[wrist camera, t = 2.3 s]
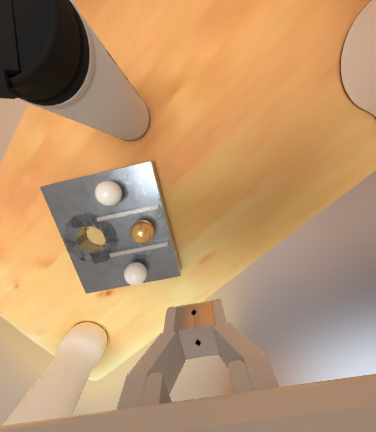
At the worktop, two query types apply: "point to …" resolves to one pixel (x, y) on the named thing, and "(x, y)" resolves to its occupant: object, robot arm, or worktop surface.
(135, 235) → the brass ball
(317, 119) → the worktop surface
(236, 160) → the worktop surface
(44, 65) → the travel mug
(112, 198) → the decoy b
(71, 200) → the plate
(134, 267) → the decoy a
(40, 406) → the bottle
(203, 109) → the worktop surface
